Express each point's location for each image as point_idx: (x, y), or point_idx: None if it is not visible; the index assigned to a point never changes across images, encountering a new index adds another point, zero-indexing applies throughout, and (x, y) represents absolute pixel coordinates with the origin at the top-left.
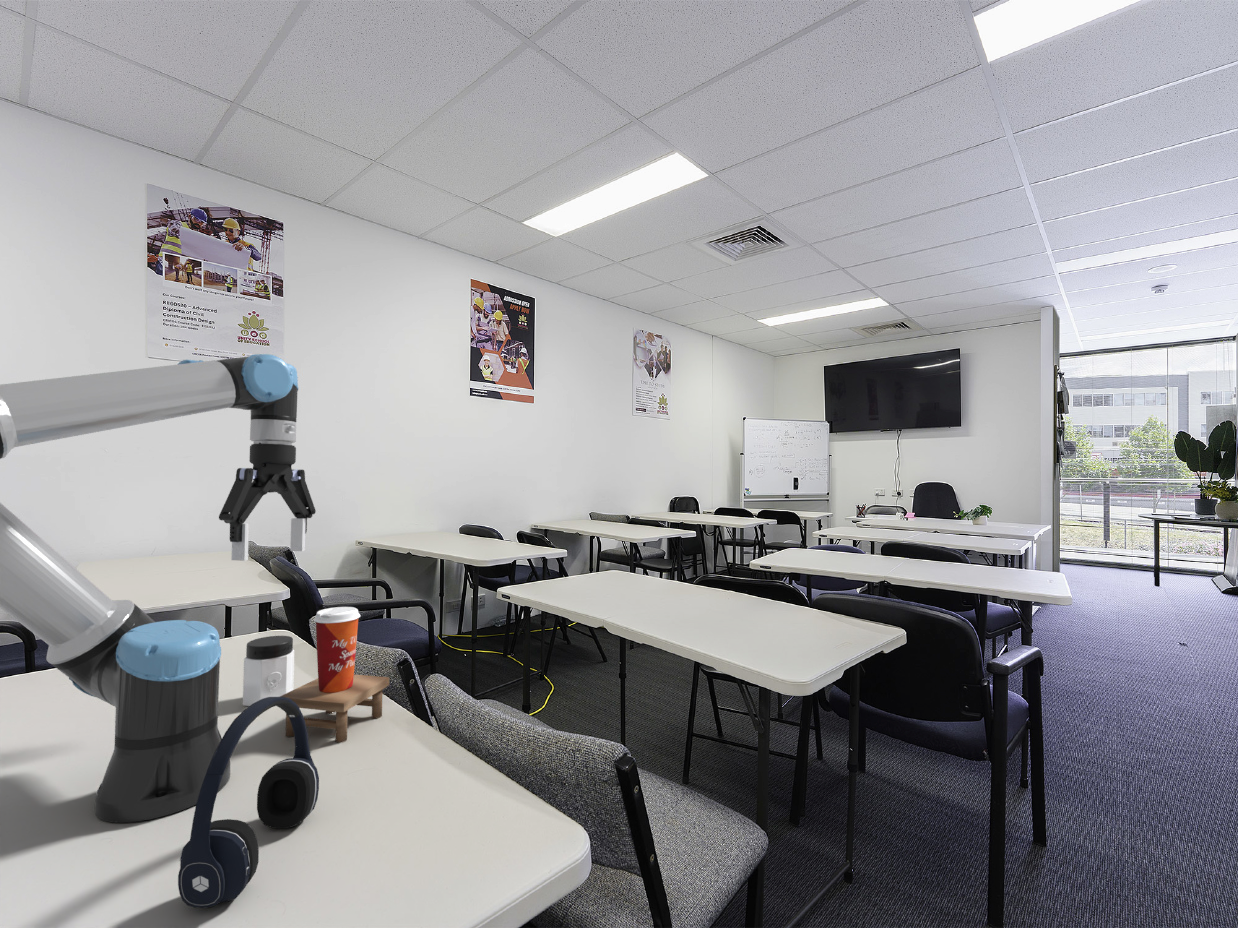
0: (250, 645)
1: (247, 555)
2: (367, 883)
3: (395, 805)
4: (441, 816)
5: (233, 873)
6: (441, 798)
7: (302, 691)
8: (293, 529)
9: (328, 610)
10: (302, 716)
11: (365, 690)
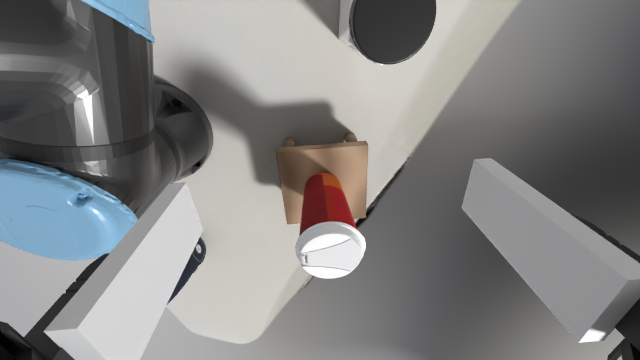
0: (356, 6)
1: (195, 241)
2: (181, 296)
3: (236, 275)
4: (239, 296)
5: None
6: (254, 289)
7: (299, 163)
8: (543, 236)
9: (329, 244)
10: (171, 299)
11: None
